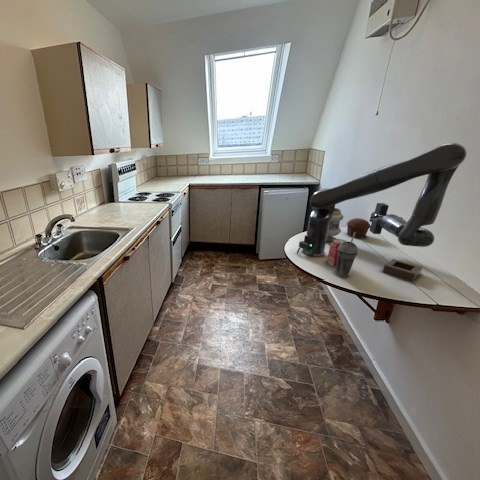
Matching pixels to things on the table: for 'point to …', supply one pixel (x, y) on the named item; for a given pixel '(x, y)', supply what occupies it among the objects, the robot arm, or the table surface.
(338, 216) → the apothecary jar
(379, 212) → the dark gray rectangular block
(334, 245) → the soda can
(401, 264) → the frame
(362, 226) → the muffin
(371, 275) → the table surface
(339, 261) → the beverage cup
